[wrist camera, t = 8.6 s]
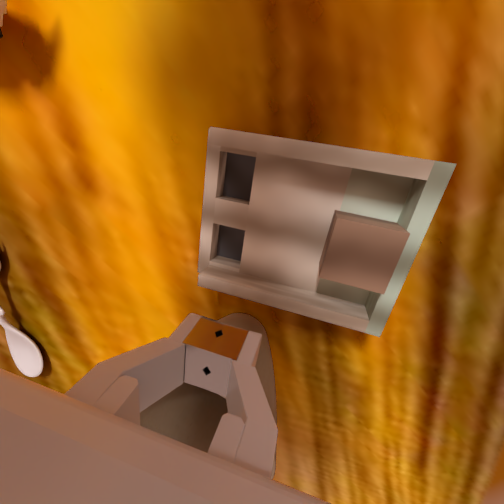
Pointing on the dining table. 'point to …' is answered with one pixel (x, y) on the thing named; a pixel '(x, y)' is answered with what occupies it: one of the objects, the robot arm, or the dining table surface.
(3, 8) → the decorative bird
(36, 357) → the white plastic spork
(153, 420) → the plant pot
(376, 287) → the walnut block
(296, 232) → the tray
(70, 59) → the dining table surface
